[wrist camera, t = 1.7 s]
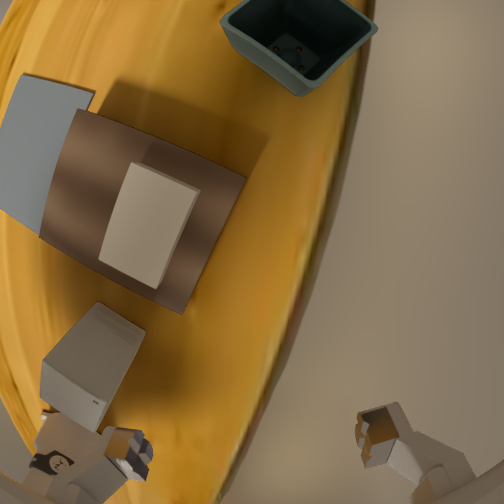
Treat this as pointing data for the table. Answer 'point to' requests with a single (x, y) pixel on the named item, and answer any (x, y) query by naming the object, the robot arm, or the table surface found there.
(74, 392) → the supplement box
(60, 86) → the mat
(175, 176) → the board
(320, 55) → the flower pot
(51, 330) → the table surface
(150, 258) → the beige rectangular block
